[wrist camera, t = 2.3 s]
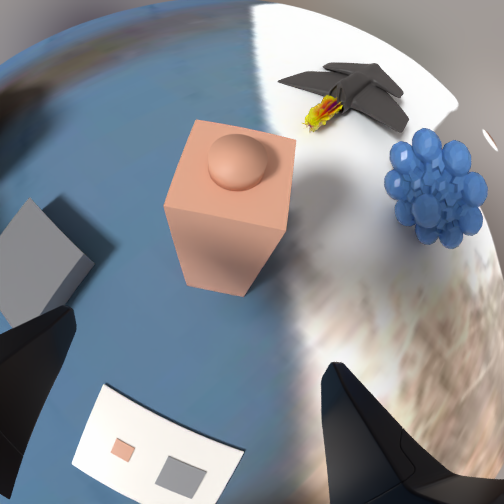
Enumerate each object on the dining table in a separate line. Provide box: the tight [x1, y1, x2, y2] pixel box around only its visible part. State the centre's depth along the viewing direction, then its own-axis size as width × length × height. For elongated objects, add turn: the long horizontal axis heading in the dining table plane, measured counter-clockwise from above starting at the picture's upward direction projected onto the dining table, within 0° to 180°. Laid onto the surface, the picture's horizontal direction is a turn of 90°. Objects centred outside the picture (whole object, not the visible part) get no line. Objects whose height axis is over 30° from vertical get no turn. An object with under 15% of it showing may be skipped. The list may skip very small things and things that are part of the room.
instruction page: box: [72, 384, 244, 504], centre depth 17 cm, size 12×9×1 cm
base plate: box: [0, 198, 95, 328], centre depth 19 cm, size 9×9×3 cm
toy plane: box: [277, 63, 409, 132], centre depth 31 cm, size 25×17×5 cm
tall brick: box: [164, 120, 296, 297], centre depth 17 cm, size 4×4×14 cm
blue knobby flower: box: [384, 128, 488, 249], centre depth 21 cm, size 12×7×12 cm, turn 47°
